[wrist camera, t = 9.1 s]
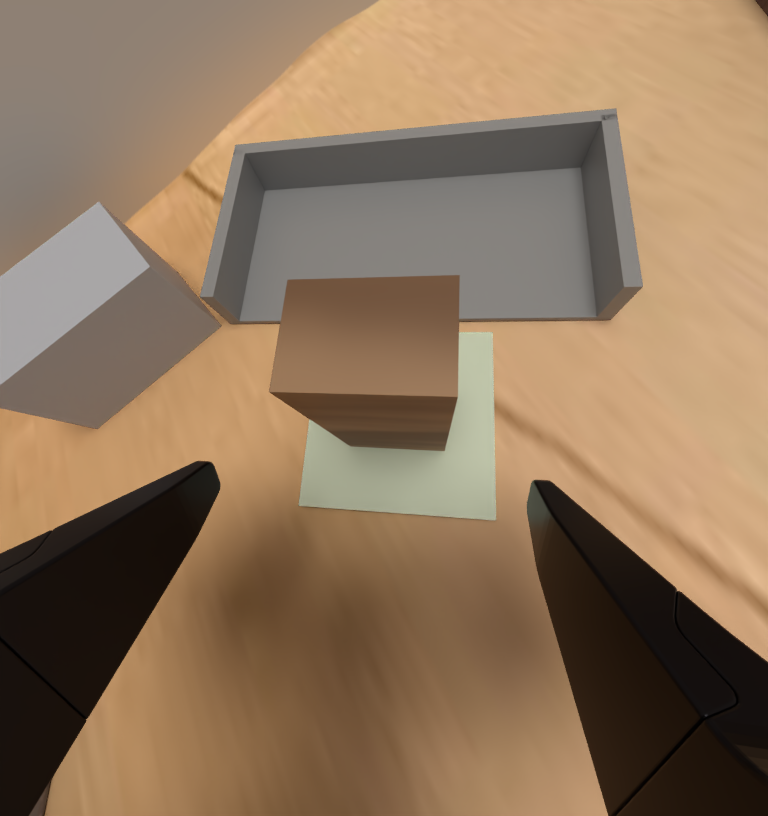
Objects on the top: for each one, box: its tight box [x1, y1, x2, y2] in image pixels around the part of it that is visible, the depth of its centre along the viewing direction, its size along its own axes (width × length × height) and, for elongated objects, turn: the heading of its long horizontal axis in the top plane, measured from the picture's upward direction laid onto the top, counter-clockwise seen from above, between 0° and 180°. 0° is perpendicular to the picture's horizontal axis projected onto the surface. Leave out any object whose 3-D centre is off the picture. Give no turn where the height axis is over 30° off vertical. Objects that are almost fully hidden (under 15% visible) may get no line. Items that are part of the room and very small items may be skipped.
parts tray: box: [200, 109, 643, 324], centre depth 20 cm, size 11×23×3 cm, turn 86°
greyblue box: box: [0, 202, 221, 429], centre depth 20 cm, size 10×6×6 cm, turn 131°
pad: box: [299, 332, 496, 520], centre depth 18 cm, size 10×10×1 cm
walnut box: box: [269, 275, 460, 451], centre depth 14 cm, size 4×5×10 cm
